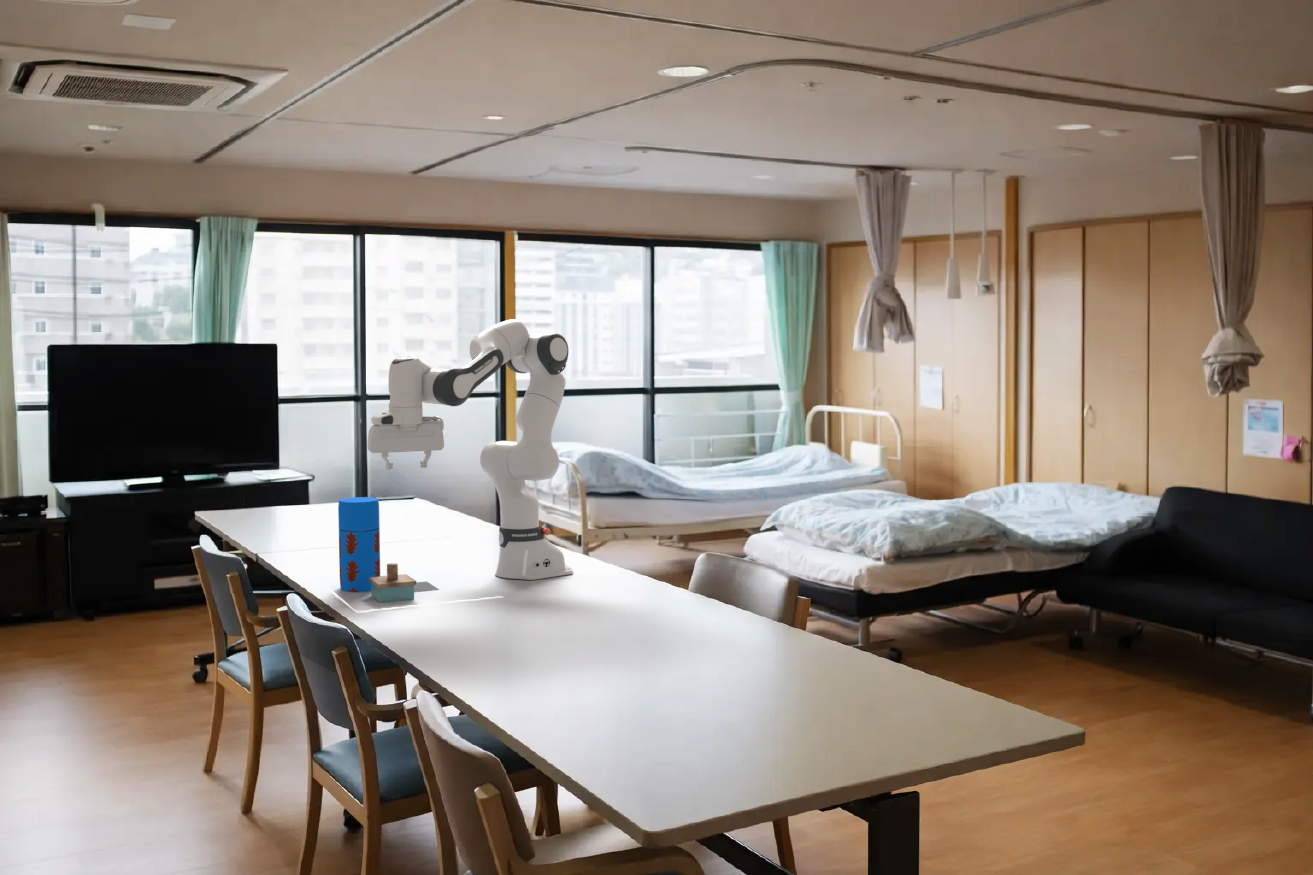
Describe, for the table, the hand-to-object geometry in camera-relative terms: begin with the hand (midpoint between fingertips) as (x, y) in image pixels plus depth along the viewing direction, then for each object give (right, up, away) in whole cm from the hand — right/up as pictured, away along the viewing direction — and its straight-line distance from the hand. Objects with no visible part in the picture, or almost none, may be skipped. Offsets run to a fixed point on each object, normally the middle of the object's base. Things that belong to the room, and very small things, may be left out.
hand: (406, 468), depth 322 cm
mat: (0, -34, +8) cm, 34 cm away
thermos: (-14, -34, +7) cm, 37 cm away
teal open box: (-3, -35, -5) cm, 35 cm away
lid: (-3, -30, -5) cm, 31 cm away
